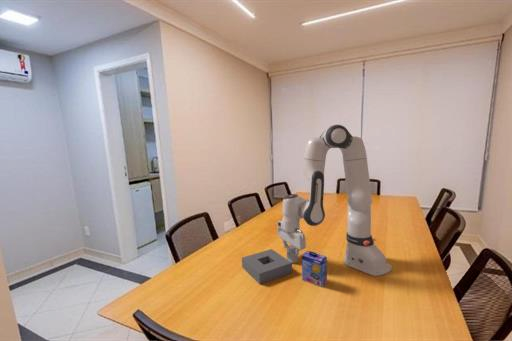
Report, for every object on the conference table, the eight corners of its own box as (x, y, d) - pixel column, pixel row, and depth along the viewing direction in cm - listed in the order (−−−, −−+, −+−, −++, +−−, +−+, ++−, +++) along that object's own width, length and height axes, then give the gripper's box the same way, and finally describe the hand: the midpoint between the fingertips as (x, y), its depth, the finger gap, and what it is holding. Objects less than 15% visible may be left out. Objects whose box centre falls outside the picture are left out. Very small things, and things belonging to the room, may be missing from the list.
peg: (297, 261, 129) (297, 247, 128) (291, 263, 127) (291, 248, 126) (293, 258, 132) (292, 244, 131) (286, 260, 130) (286, 246, 129)
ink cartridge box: (301, 280, 112) (300, 249, 110) (307, 274, 116) (306, 245, 114) (321, 287, 105) (321, 255, 104) (327, 282, 110) (327, 251, 108)
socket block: (292, 272, 118) (291, 262, 118) (259, 284, 110) (259, 273, 109) (271, 257, 134) (271, 248, 133) (242, 266, 125) (241, 257, 125)
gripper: (309, 230, 120) (308, 257, 122) (284, 219, 138) (284, 242, 139) (298, 233, 117) (298, 260, 119) (275, 221, 135) (275, 245, 136)
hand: (291, 251), depth 129 cm, fingers open, 8 cm apart
